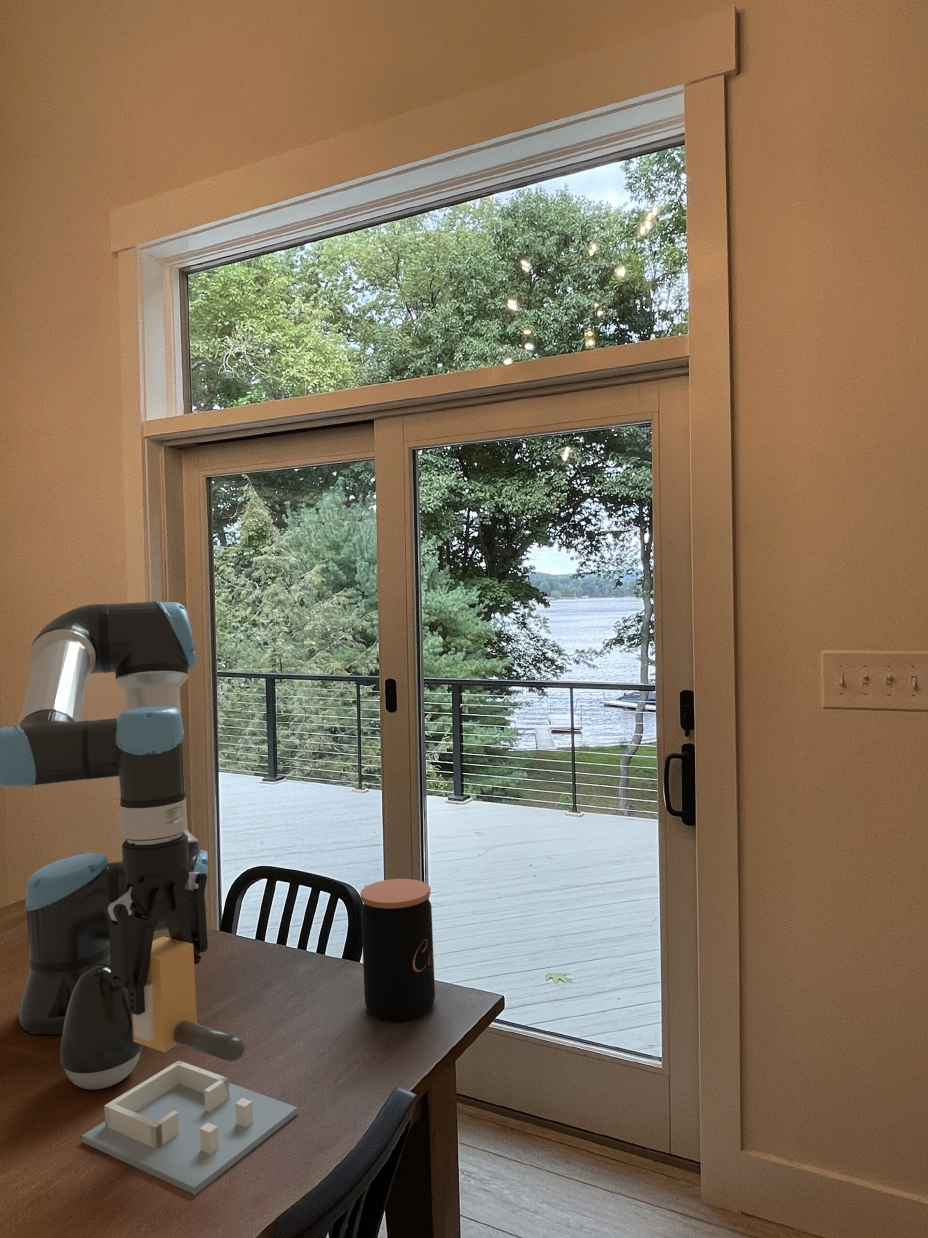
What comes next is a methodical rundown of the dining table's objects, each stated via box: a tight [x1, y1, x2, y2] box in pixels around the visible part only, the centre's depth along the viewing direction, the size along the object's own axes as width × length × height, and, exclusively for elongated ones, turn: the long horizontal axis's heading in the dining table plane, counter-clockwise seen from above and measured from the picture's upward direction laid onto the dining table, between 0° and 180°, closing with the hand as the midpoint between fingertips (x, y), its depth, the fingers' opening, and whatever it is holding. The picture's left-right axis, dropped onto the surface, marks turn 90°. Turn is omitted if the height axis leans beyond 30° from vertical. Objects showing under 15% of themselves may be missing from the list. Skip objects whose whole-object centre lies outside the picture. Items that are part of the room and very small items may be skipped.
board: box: [81, 1060, 299, 1196], centre depth 103 cm, size 19×16×3 cm
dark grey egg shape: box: [59, 964, 144, 1090], centre depth 114 cm, size 10×10×15 cm
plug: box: [132, 935, 246, 1063], centre depth 102 cm, size 16×5×11 cm, turn 59°
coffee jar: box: [359, 878, 436, 1023], centre depth 131 cm, size 11×11×18 cm
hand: (164, 1026), depth 104 cm, fingers closed on plug, 5 cm apart
